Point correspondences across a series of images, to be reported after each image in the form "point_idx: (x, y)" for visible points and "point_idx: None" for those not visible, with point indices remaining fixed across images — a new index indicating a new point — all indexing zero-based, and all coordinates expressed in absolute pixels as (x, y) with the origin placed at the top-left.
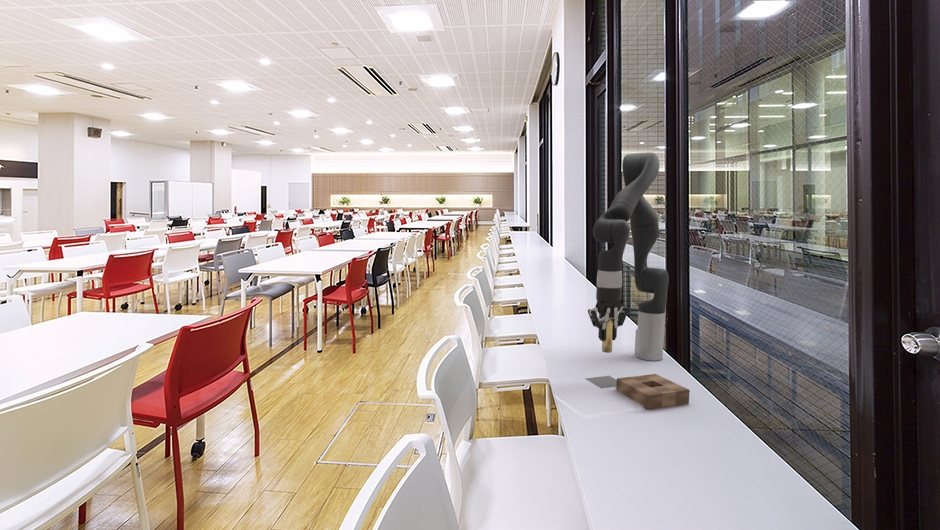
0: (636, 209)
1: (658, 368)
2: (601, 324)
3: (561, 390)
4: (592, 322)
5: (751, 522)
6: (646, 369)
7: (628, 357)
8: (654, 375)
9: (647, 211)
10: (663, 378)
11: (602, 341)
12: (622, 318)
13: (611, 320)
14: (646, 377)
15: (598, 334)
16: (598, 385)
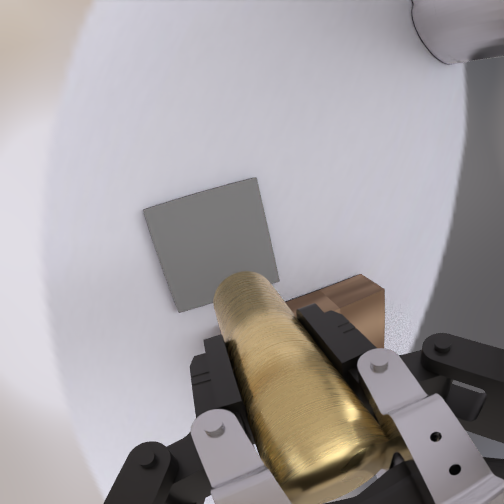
0: None
1: (433, 117)
2: (240, 447)
3: (52, 305)
4: (120, 495)
5: None
6: (405, 115)
7: (390, 6)
8: (373, 305)
9: None
10: (379, 328)
11: (223, 334)
12: (468, 423)
13: (351, 489)
14: None
15: (191, 381)
16: (175, 288)
